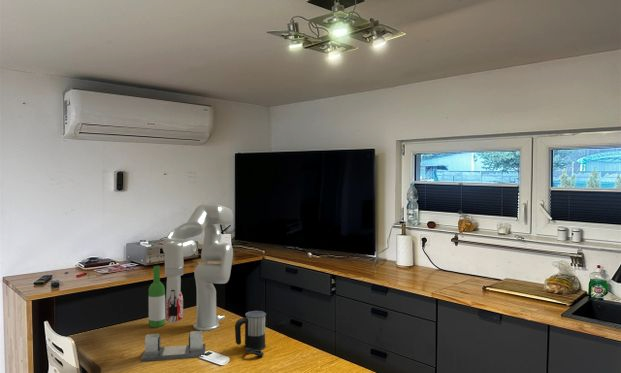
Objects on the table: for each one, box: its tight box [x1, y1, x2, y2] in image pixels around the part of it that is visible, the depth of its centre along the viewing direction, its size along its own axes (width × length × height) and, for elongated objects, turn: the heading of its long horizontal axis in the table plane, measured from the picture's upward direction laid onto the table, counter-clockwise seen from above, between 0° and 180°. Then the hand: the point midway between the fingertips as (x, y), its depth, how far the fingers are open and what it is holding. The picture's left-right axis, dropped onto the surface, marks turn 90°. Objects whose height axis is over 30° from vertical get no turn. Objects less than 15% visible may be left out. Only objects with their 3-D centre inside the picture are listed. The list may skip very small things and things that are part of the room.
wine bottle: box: [148, 265, 166, 328], centre depth 214 cm, size 8×8×30 cm
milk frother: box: [234, 310, 267, 357], centre depth 184 cm, size 14×16×15 cm
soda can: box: [165, 290, 184, 323], centre depth 180 cm, size 7×7×12 cm
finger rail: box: [140, 330, 206, 363], centre depth 180 cm, size 25×10×8 cm, turn 102°
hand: (174, 312), depth 180 cm, fingers closed on soda can, 7 cm apart
